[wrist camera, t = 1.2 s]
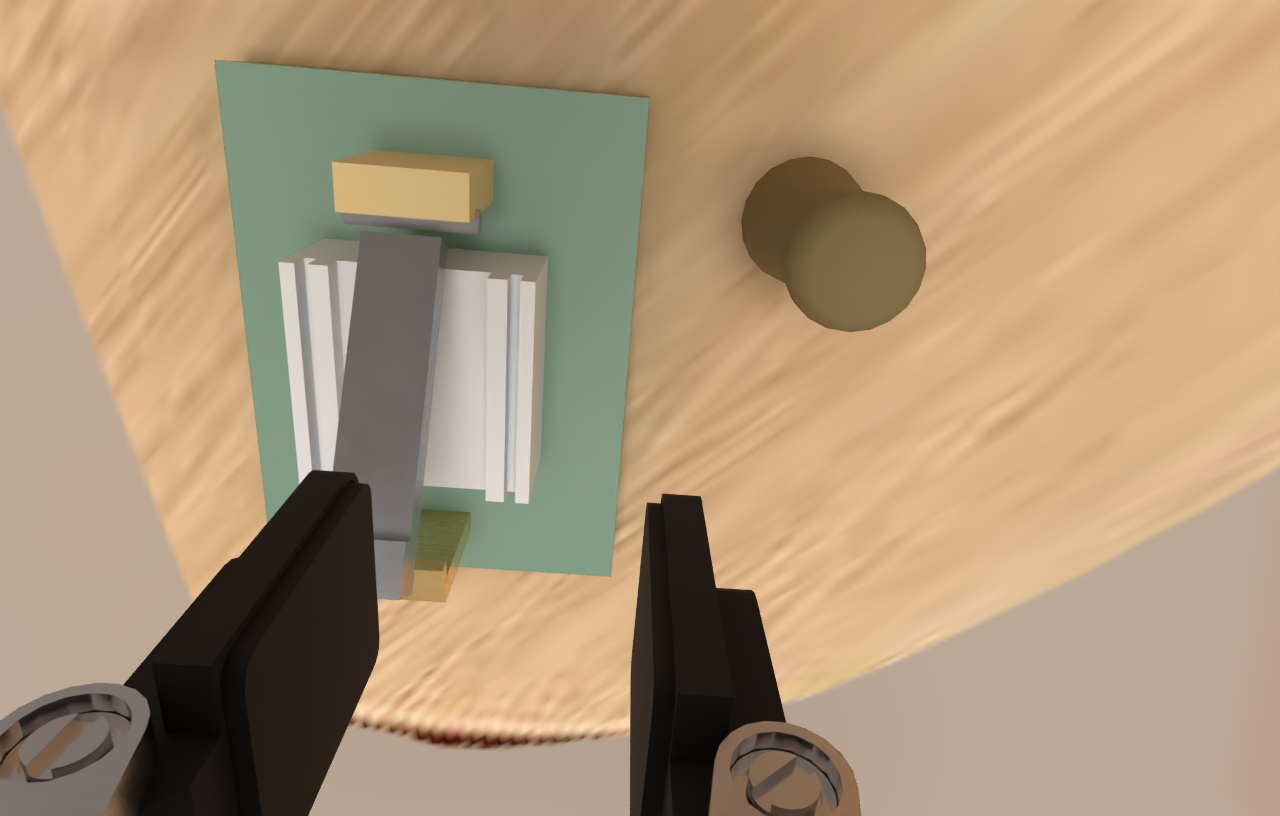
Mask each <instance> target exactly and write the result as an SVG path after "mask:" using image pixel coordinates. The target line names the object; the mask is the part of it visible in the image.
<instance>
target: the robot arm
mask: <svg viewBox="0 0 1280 816" xmlns="http://www.w3.org/2000/svg"><path fill="white" fill-rule="evenodd" d="M378 650H379V622H378V604H377V586H376V568H375V550H374V532H373V514H372V496H371V489H370V486H369V485H368V484H365V483H359V481H358V478H357V475H356V474H355V473H352V472H337V471H323V470H312V471H311V472H309V473H308V475H307V476H306V477H305V478H304V479H303V481H302V482H301V483H300V484H299V485H298V487H297V488H296V489H295V490H294V491H293V493H292V494H291V495H290V496H289V498H288V499H287V500H286V501H285V502H284V504H283V505H282V506H281V507H280V508H279V510H278V511H277V512H276V513H275V514H274V516H273V517H272V518H271V519H270V520H269V522H268V523H267V524H266V525H265V526H264V528H263V529H262V530H261V531H260V533H259V534H258V535H257V536H256V537H255V539H254V540H253V541H252V542H251V543H250V545H249V546H248V547H247V548H246V549H245V551H244V552H243V553H242V554H241V555H240V557H238V558H234V559H231V560H230V561H229V562H228V563H227V564H225V565H224V566H223V568H222V569H221V570H220V571H219V572H218V573H217V575H216V576H215V577H214V578H213V579H212V581H211V582H210V583H209V584H208V585H207V586H206V588H205V589H204V590H203V591H202V592H201V594H200V595H199V596H198V597H197V598H196V600H195V601H194V602H193V603H192V604H191V605H190V607H189V608H188V609H187V610H186V611H185V613H184V614H183V615H182V616H181V617H180V619H179V620H178V621H177V622H176V623H175V624H174V626H173V627H172V628H171V629H170V630H169V632H168V633H167V634H166V635H165V636H164V637H163V639H162V640H161V641H160V642H159V643H158V645H157V646H156V647H155V648H154V649H153V650H152V652H151V653H150V654H149V655H148V656H147V658H146V659H145V660H144V661H143V662H142V663H141V665H140V666H139V667H138V668H137V669H136V671H135V672H134V673H133V674H132V675H131V676H130V678H129V679H128V680H127V681H126V682H125V684H124V685H120V684H109V683H93V684H87V685H80V686H73V687H69V688H66V689H63V690H60V691H56V692H53V693H50V694H47V695H44V696H42V697H40V698H38V699H36V700H34V701H32V702H29V703H27V704H25V705H23V706H21V707H19V708H18V709H16V710H15V711H13V712H12V713H10V714H9V715H8V716H6V717H5V718H3V719H2V720H0V816H308V815H309V812H310V810H311V808H312V806H313V803H314V801H315V799H316V797H317V794H318V792H319V790H320V788H321V785H322V783H323V781H324V779H325V776H326V774H327V772H328V769H329V767H330V765H331V763H332V760H333V758H334V756H335V753H336V751H337V749H338V747H339V745H340V742H341V740H342V738H343V736H344V733H345V731H346V729H347V727H348V724H349V722H350V720H351V718H352V715H353V713H354V711H355V709H356V706H357V704H358V702H359V699H360V697H361V695H362V693H363V690H364V688H365V686H366V684H367V681H368V679H369V677H370V675H371V672H372V670H373V668H374V665H375V663H376V659H377V655H378ZM630 816H861V809H860V800H859V791H858V786H857V783H856V779H855V777H854V773H853V770H852V769H851V767H850V766H849V764H848V763H847V761H846V760H845V758H844V757H843V755H842V754H841V753H840V752H839V751H838V750H837V749H836V748H834V747H833V746H832V745H831V744H830V743H829V742H828V741H827V740H825V739H824V738H822V737H820V736H818V735H817V734H815V733H813V732H811V731H809V730H807V729H805V728H802V727H799V726H795V725H792V724H789V723H786V720H785V716H784V712H783V708H782V703H781V699H780V695H779V691H778V687H777V682H776V678H775V674H774V670H773V666H772V661H771V657H770V653H769V649H768V645H767V640H766V636H765V632H764V628H763V624H762V620H761V615H760V611H759V607H758V603H757V599H756V596H755V593H754V592H753V591H752V590H740V589H725V588H716V585H715V579H714V573H713V567H712V561H711V555H710V549H709V543H708V536H707V530H706V524H705V518H704V512H703V506H702V500H701V497H700V496H689V495H674V494H662V498H661V504H659V503H647V506H646V515H645V525H644V536H643V546H642V556H641V567H640V577H639V587H638V598H637V608H636V618H635V629H634V639H633V649H632V661H631V718H630Z"/></svg>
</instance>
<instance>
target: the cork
mask: <svg viewBox="0 0 1280 816" xmlns="http://www.w3.org/2000/svg"><path fill="white" fill-rule="evenodd" d="M742 231H743V241H744V243H745V245H746V248H747V250H748V252H749V255H750V257H751V258H752V259H753V261H754V262H755V263H756V264H757V265H758V266H759V267H760V268H761V270H762V271H764V272H765V273H767V274H769V275H771V276H773V277H774V278H776V279H778V280H780V281H782V282H784V283H786V286H787V288H788V291H789V293H790V296H791V298H792V300H793V301H794V303H795V304H796V305H797V306H798V307H799V308H800V310H801V311H802V312H803V313H804V314H805V315H806V316H807V317H808V318H809V319H811V320H813V321H815V322H816V323H818V324H820V325H822V326H824V327H826V328H830V329H836V330H841V331H847V332H855V331H863V330H870V329H873V328H875V327H877V326H880V325H882V324H884V323H886V322H889V321H891V320H892V319H893V318H894V317H895V316H897V315H898V314H899V313H900V312H901V311H903V310H904V309H905V308H906V307H907V306H908V305H909V303H910V302H911V300H912V299H913V297H914V296H915V294H916V293H917V292H918V290H919V288H920V285H921V282H922V279H923V276H924V273H925V270H926V247H925V244H924V241H923V238H922V235H921V232H920V229H919V227H918V224H917V223H916V222H915V220H914V219H913V218H912V217H911V215H910V214H909V213H908V212H907V210H906V209H905V208H904V207H902V206H901V205H899V204H897V203H896V202H894V201H892V200H891V199H889V198H887V197H886V196H883V195H880V194H875V193H870V192H864V191H863V190H862V189H861V188H860V186H859V185H858V184H857V183H856V181H855V180H854V179H853V178H852V177H851V175H850V174H849V173H848V172H847V171H846V170H845V169H843V168H841V167H840V166H838V165H836V164H835V163H833V162H831V161H829V160H824V159H819V158H814V157H806V158H799V159H791V160H789V161H787V162H785V163H783V164H780V165H778V166H776V167H774V168H772V169H771V170H770V171H769V172H768V173H767V174H766V175H765V176H763V177H762V178H761V179H760V180H759V181H758V182H757V183H756V185H755V186H754V188H753V190H752V192H751V193H750V195H749V197H748V199H747V200H746V204H745V208H744V212H743V217H742Z"/></svg>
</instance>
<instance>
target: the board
mask: <svg viewBox="0 0 1280 816" xmlns="http://www.w3.org/2000/svg"><path fill="white" fill-rule="evenodd" d="M214 61H215V69H216V78H217V87H218V95H219V104H220V113H221V122H222V130H223V139H224V148H225V157H226V165H227V174H228V183H229V191H230V200H231V209H232V218H233V226H234V235H235V244H236V253H237V261H238V270H239V279H240V288H241V296H242V305H243V314H244V322H245V331H246V340H247V349H248V357H249V366H250V375H251V384H252V392H253V401H254V410H255V418H256V427H257V436H258V445H259V453H260V462H261V471H262V480H263V488H264V497H265V506H266V515H267V523H268V522H269V520H270V519H271V518H272V517H273V516H274V514H275V513H276V512H277V511H278V510H279V508H280V507H281V506H282V505H283V504H284V502H285V501H286V500H287V499H288V498H289V496H290V495H291V494H292V493H293V491H294V490H295V489H296V488H297V487H298V485H299V484H300V483H301V482H302V481H303V479H304V478H305V477H306V476H307V475H308V473H309V472H311V471H312V470H323V471H333V464H334V455H335V447H336V438H337V430H338V421H339V413H340V404H341V396H342V387H343V379H344V370H345V362H346V353H347V345H348V337H349V328H350V320H351V311H352V303H353V294H354V286H355V277H356V269H357V260H358V252H359V243H360V235H361V231H367V232H380V233H392V234H405V235H417V236H430V237H442V239H443V241H444V243H445V244H446V246H447V248H448V250H447V260H446V269H445V279H444V289H443V299H442V308H441V318H440V328H439V338H438V347H437V357H436V367H435V377H434V386H433V396H432V406H431V416H430V425H429V435H428V445H427V455H426V464H425V474H424V484H423V494H422V503H421V509H430V510H445V511H460V512H471V533H470V536H469V538H468V541H467V544H466V547H465V549H464V552H463V555H462V558H461V561H460V563H459V566H458V567H468V568H484V569H500V570H515V571H531V572H546V573H562V574H578V575H593V576H609V577H611V570H612V558H613V545H614V533H615V521H616V508H617V496H618V483H619V471H620V459H621V446H622V434H623V421H624V409H625V396H626V384H627V372H628V359H629V347H630V334H631V322H632V309H633V297H634V285H635V272H636V260H637V247H638V235H639V223H640V210H641V198H642V185H643V173H644V160H645V148H646V136H647V123H648V111H649V97H641V96H630V95H619V94H607V93H596V92H585V91H573V90H562V89H550V88H539V87H528V86H516V85H505V84H494V83H482V82H471V81H459V80H448V79H437V78H425V77H414V76H403V75H391V74H380V73H368V72H357V71H346V70H334V69H323V68H312V67H300V66H289V65H277V64H266V63H255V62H240V61H220V60H214Z"/></svg>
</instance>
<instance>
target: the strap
mask: <svg viewBox="0 0 1280 816" xmlns="http://www.w3.org/2000/svg"><path fill="white" fill-rule="evenodd" d="M447 250H448V248H447V246H446V244H445V243H444V241H443V239H442V237H430V236H417V235H405V234H392V233H380V232H367V231H361V235H360V243H359V252H358V260H357V269H356V277H355V286H354V294H353V303H352V311H351V320H350V328H349V337H348V345H347V353H346V362H345V370H344V379H343V387H342V396H341V404H340V413H339V421H338V430H337V438H336V447H335V455H334V464H333V471H337V472H352V473H355V474H356V475H357V478H358V481H359V483H365V484H368V485H369V486H370V489H371V496H372V514H373V532H374V550H375V568H376V586H377V599H389V600H401V599H403V598H406V597H408V596H410V595H412V591H413V581H414V572H415V562H416V552H417V542H418V533H419V523H420V513H421V503H422V494H423V484H424V474H425V464H426V455H427V445H428V435H429V425H430V416H431V406H432V396H433V386H434V377H435V367H436V357H437V347H438V338H439V328H440V318H441V308H442V299H443V289H444V279H445V269H446V260H447Z"/></svg>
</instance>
